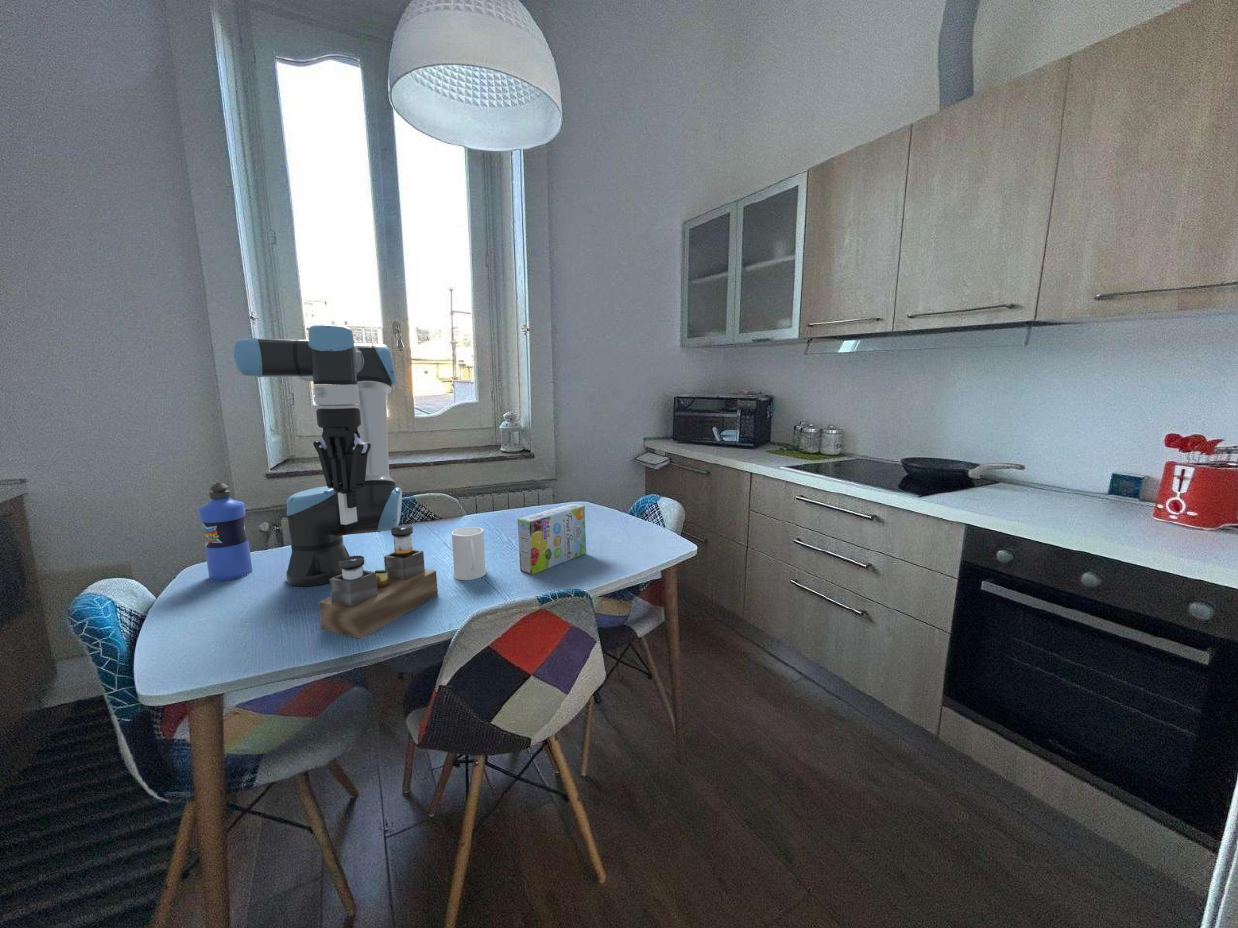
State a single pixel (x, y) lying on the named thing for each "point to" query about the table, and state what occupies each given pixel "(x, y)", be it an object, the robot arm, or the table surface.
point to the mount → (377, 596)
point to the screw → (382, 578)
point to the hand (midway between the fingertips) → (349, 522)
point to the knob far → (402, 541)
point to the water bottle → (225, 535)
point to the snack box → (551, 537)
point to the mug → (468, 553)
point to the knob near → (352, 567)
